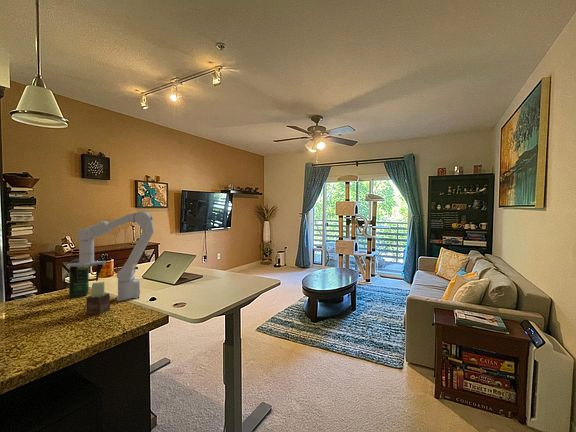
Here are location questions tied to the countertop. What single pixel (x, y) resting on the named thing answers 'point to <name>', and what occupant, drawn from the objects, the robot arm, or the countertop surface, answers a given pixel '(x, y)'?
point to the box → (98, 304)
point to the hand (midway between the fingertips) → (86, 281)
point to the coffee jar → (79, 281)
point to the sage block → (98, 289)
